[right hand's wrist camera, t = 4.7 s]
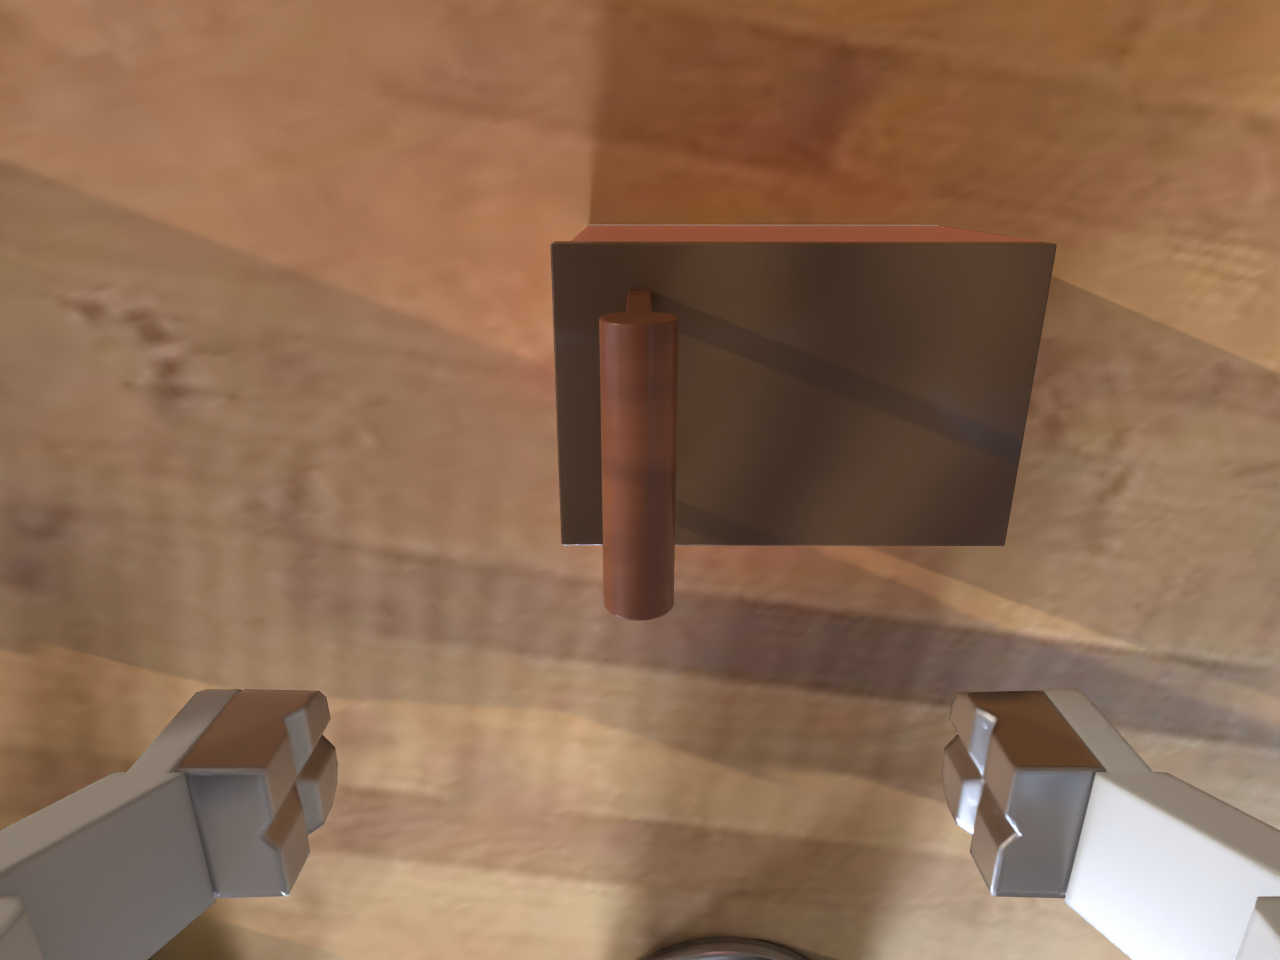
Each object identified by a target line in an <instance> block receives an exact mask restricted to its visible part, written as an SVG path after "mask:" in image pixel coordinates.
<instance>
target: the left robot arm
mask: <svg viewBox="0 0 1280 960" xmlns="http://www.w3.org/2000/svg"><path fill="white" fill-rule="evenodd" d="M642 960H806V959H805V958H803V957H801V956H799V955H798V954H796V953H794V952H792V951H789V950H787V949H785V948H782V947H780V946H777V945H774V944H770V943H767V942H763V941H758V940H753V939H745V938H733V937H717V938H705V939H697V940H692V941H687V942H683V943H679V944H676V945H673V946H670V947H667V948H664V949H662V950H660V951H657V952H655V953H653V954H651V955H649V956H647V957H646V958H644V959H642Z"/></svg>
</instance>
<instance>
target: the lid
mask: <svg viewBox="0 0 1280 960" xmlns="http://www.w3.org/2000/svg"><path fill="white" fill-rule="evenodd" d="M1055 252H1056V244H1053V243H1046V242H695V241H555V242H553V243H552V244H551V271H552V298H553V326H554V353H555V380H556V408H557V435H558V463H559V490H560V518H561V543H562V545H603V576H604V605H605V607H606V609H607V610H608V611H609V612H610V613H611V614H613V615H615V616H617V617H620V618H623V619H628V620H649V619H654V618H658V617H661V616H663V615H665V614H666V613H668V612H669V611H670V610H671V608H672V607H673V604H674V554H675V545H828V546H1004V545H1005V539H1006V534H1007V528H1008V522H1009V516H1010V511H1011V505H1012V499H1013V493H1014V488H1015V482H1016V476H1017V470H1018V465H1019V459H1020V453H1021V447H1022V442H1023V436H1024V430H1025V424H1026V419H1027V413H1028V407H1029V401H1030V396H1031V390H1032V384H1033V378H1034V373H1035V367H1036V361H1037V355H1038V350H1039V344H1040V338H1041V332H1042V327H1043V321H1044V315H1045V309H1046V304H1047V298H1048V292H1049V286H1050V281H1051V275H1052V269H1053V263H1054V258H1055Z"/></svg>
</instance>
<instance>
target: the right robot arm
mask: <svg viewBox="0 0 1280 960" xmlns="http://www.w3.org/2000/svg"><path fill="white" fill-rule="evenodd" d="M330 719H331V718H330V713H329V708H328V703H327V698H326V696H324V695H323V694H322V693H321V692H320V691H298V690H251V689H245V690H240V689H206V690H203V691H200V692H197V693H195V694H194V696H193V697H192V698H191V699H190V700H189V701H188V702H187V704H186V705H185V706H184V707H183V708H182V709H181V710H180V712H179V713H178V714H177V715H176V716H175V717H174V718H173V720H172V721H171V722H170V723H169V724H168V725H167V726H166V728H165V729H164V730H163V731H162V732H161V733H160V734H159V736H158V737H157V738H156V739H155V740H154V741H153V742H152V744H151V745H150V746H149V747H148V748H147V749H146V750H145V752H144V753H143V754H142V755H141V756H140V757H139V758H138V760H137V761H136V762H135V763H134V764H133V765H132V766H131V768H130V769H129V770H128V771H127V772H113V773H112V774H110V775H108V776H106V777H104V778H102V779H100V780H98V781H96V782H94V783H92V784H90V785H88V786H86V787H84V788H82V789H80V790H78V791H76V792H74V793H72V794H70V795H68V796H67V797H65V798H63V799H61V800H59V801H57V802H55V803H53V804H51V805H49V806H47V807H45V808H43V809H41V810H39V811H37V812H35V813H33V814H31V815H29V816H27V817H25V818H24V819H22V820H20V821H18V822H16V823H14V824H12V825H10V826H8V827H6V828H4V829H2V830H0V960H148V959H149V958H150V957H152V956H153V955H154V954H155V953H156V952H157V951H159V950H160V949H161V948H162V947H163V946H164V945H166V944H167V943H168V942H169V941H170V940H172V939H173V938H174V937H175V936H176V935H177V934H179V933H180V932H181V931H182V930H183V929H184V928H186V927H187V926H188V925H189V924H190V923H192V922H193V921H194V920H195V919H196V918H197V917H199V916H200V915H201V914H202V913H203V912H204V911H206V910H207V909H208V908H209V907H210V906H211V905H213V904H214V903H215V898H238V897H272V896H288V895H289V893H290V891H291V889H292V887H293V885H294V883H295V881H296V879H297V877H298V875H299V873H300V871H301V869H302V867H303V865H304V863H305V861H306V859H307V857H308V855H309V853H310V847H309V842H308V836H307V835H309V834H310V833H312V832H313V831H314V830H316V829H317V828H319V827H320V826H321V825H323V824H324V822H325V820H326V818H327V816H328V814H329V812H330V809H331V807H332V805H333V800H334V796H335V791H336V787H337V776H338V763H337V756H336V749H335V747H334V746H333V745H332V744H331V743H330V742H329V741H328V740H327V739H326V738H325V737H324V736H323V735H322V734H323V732H324V730H325V728H326V726H327V725H328V723H329V721H330ZM949 719H950V721H951V723H952V725H953V726H954V728H955V730H956V732H957V734H958V735H957V736H956V737H955V738H954V739H953V740H952V741H951V742H950V743H949V744H948V745H947V746H946V747H945V749H944V757H943V765H942V775H943V786H944V793H945V797H946V800H947V804H948V807H949V810H950V812H951V814H952V816H953V818H954V820H955V822H956V824H957V825H959V826H960V827H961V828H963V829H964V830H966V831H967V832H968V833H970V834H971V835H973V836H972V842H971V847H970V853H971V855H972V857H973V859H974V861H975V863H976V865H977V867H978V869H979V871H980V873H981V875H982V877H983V879H984V881H985V883H986V885H987V887H988V889H989V891H990V893H991V895H992V896H1006V897H1041V898H1065V901H1064V902H1065V903H1067V904H1068V905H1069V906H1070V907H1071V908H1072V909H1074V910H1075V911H1076V912H1077V913H1078V914H1079V915H1081V916H1082V917H1083V918H1084V919H1085V920H1087V921H1088V922H1089V923H1090V924H1091V925H1092V926H1094V927H1095V928H1096V929H1097V930H1098V931H1099V932H1101V933H1102V934H1103V935H1104V936H1105V937H1106V938H1108V939H1109V940H1110V941H1111V942H1112V943H1113V944H1115V945H1116V946H1117V947H1118V948H1119V949H1121V950H1122V951H1123V952H1124V953H1125V954H1126V955H1128V956H1129V957H1130V958H1131V959H1132V960H1280V830H1278V829H1276V828H1274V827H1272V826H1270V825H1268V824H1266V823H1264V822H1262V821H1260V820H1258V819H1256V818H1254V817H1252V816H1250V815H1248V814H1247V813H1245V812H1243V811H1241V810H1239V809H1237V808H1235V807H1233V806H1231V805H1229V804H1227V803H1225V802H1223V801H1221V800H1219V799H1217V798H1215V797H1213V796H1211V795H1209V794H1208V793H1206V792H1204V791H1202V790H1200V789H1198V788H1196V787H1194V786H1192V785H1190V784H1188V783H1186V782H1184V781H1182V780H1180V779H1178V778H1176V777H1174V776H1172V775H1170V774H1169V773H1167V772H1153V771H1152V770H1151V769H1150V768H1149V766H1148V765H1147V764H1146V763H1145V762H1144V761H1143V760H1142V758H1141V757H1140V756H1139V755H1138V754H1137V753H1136V752H1135V750H1134V749H1133V748H1132V747H1131V746H1130V745H1129V744H1128V742H1127V741H1126V740H1125V739H1124V738H1123V737H1122V736H1121V734H1120V733H1119V732H1118V731H1117V730H1116V729H1115V728H1114V726H1113V725H1112V724H1111V723H1110V722H1109V721H1108V720H1107V718H1106V717H1105V716H1104V715H1103V714H1102V713H1101V712H1100V710H1099V709H1098V708H1097V707H1096V706H1095V705H1094V704H1093V702H1092V701H1091V700H1090V699H1089V698H1088V697H1087V696H1086V694H1084V693H1083V692H1081V691H1079V690H1077V689H1050V690H1035V691H990V692H957V694H956V696H955V698H954V700H953V702H952V706H951V712H950V718H949Z"/></svg>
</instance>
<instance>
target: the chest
mask: <svg viewBox="0 0 1280 960" xmlns="http://www.w3.org/2000/svg"><path fill="white" fill-rule="evenodd" d="M571 241H695V242H1040V241H1034V240H1027V239H1021V238H1015V237H1008V236H1002V235H995V234H989V233H983V232H976V231H970V230H963V229H957V228H951V227H944V226H940V225H872V224H589V225H588V227H586V228H585V229H584V230H583V231H582V232H581V233H579V234H578V235H577V236H576V237H575V238H574V239H573V240H571Z"/></svg>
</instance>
